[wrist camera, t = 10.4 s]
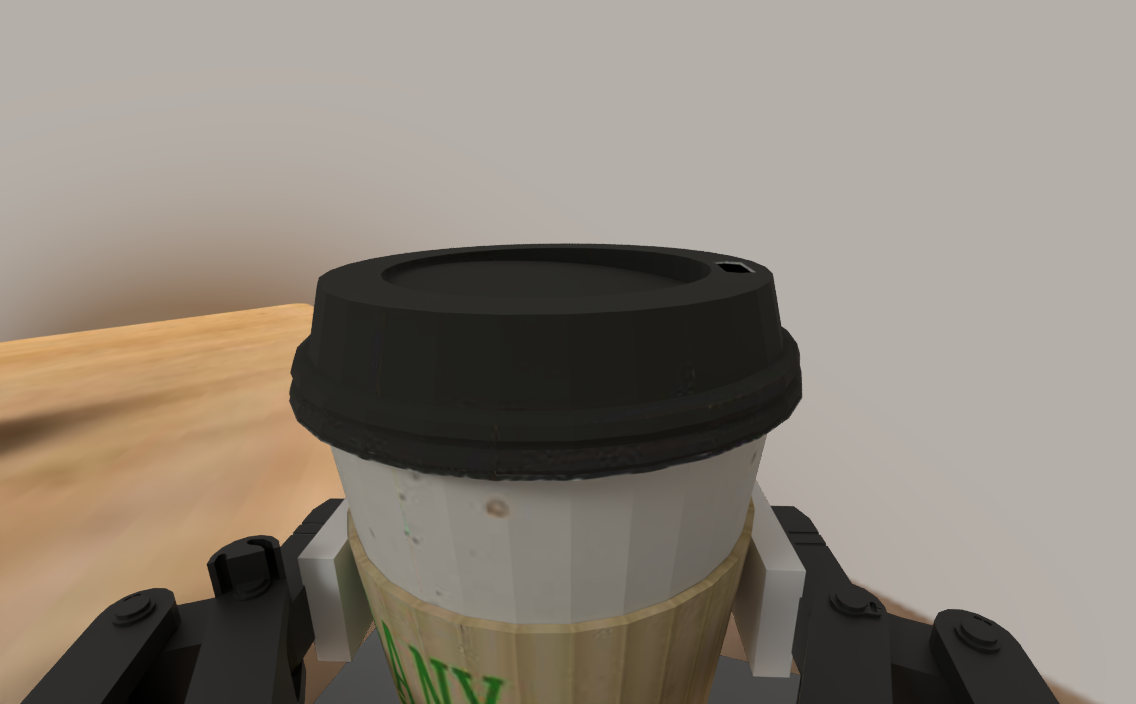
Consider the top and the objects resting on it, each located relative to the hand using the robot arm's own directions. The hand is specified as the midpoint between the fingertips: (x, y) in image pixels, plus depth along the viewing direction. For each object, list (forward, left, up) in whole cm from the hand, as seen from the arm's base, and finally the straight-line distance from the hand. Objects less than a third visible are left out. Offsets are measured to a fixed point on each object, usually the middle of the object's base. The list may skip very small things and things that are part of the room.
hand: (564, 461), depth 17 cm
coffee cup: (+1, -4, -8) cm, 9 cm away
